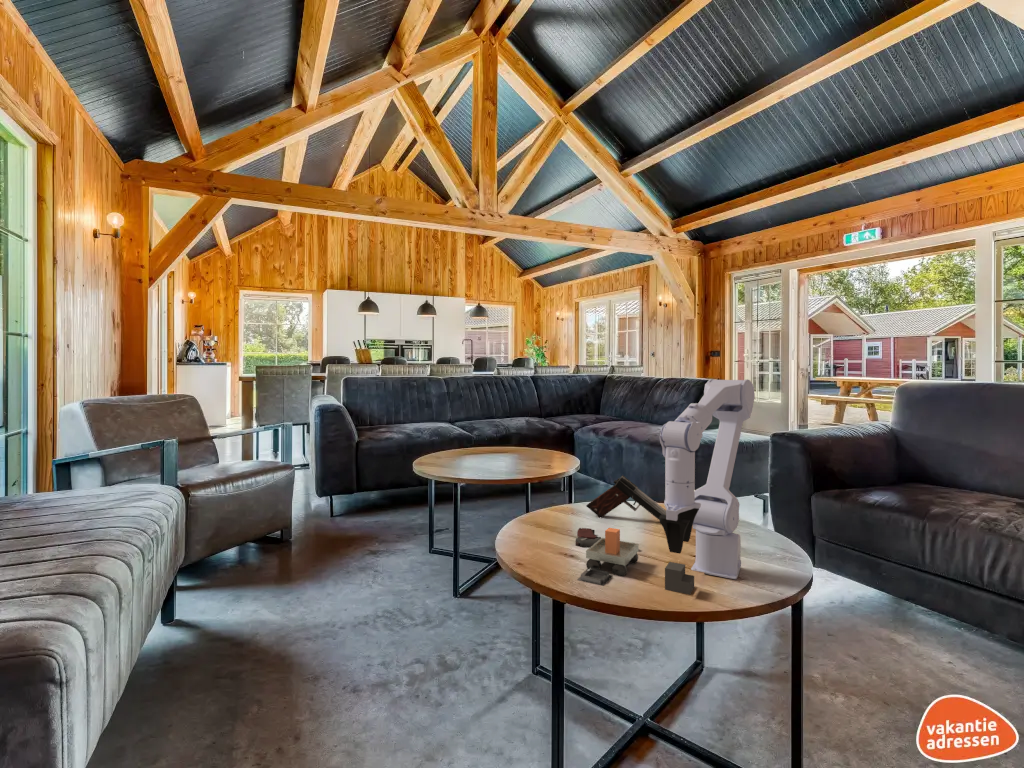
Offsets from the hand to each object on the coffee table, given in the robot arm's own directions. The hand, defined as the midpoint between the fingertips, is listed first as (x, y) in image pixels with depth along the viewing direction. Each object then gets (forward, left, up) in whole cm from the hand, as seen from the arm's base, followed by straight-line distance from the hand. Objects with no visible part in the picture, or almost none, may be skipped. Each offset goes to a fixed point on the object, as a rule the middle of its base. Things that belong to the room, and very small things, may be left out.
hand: (679, 546), depth 105 cm
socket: (+17, +3, -9) cm, 20 cm away
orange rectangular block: (+16, -5, -6) cm, 18 cm away
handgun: (+24, -43, -10) cm, 50 cm away
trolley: (+16, -5, -9) cm, 19 cm away
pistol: (+23, -20, -10) cm, 33 cm away
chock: (0, 0, -9) cm, 9 cm away
